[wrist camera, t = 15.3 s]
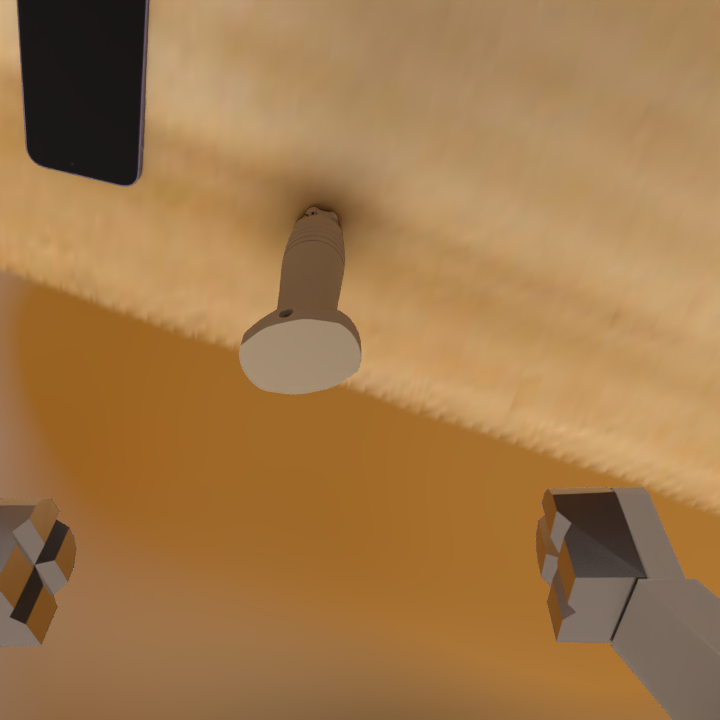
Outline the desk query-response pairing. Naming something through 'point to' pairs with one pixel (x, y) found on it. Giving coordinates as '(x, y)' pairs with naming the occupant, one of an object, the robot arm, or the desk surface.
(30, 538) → the robot arm
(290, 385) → the handle
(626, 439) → the desk surface
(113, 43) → the smartphone
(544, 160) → the desk surface
